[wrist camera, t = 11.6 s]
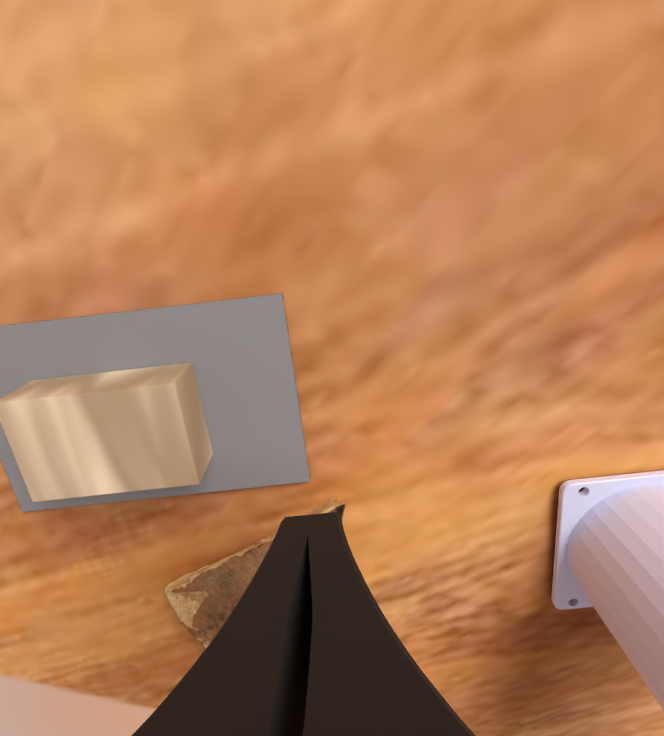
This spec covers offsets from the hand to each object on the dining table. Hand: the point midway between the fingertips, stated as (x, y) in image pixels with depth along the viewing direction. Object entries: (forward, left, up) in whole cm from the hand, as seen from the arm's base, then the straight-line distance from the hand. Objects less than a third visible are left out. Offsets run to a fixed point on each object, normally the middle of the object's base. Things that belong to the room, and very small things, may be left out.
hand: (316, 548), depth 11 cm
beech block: (+5, 0, -8) cm, 10 cm away
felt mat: (+8, 0, -10) cm, 13 cm away
